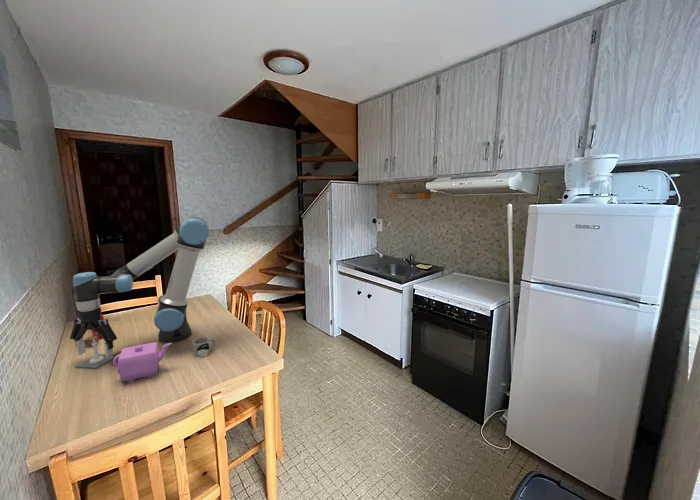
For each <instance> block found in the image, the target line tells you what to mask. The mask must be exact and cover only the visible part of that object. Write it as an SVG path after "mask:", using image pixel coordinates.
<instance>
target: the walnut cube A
mask: <svg viewBox="0 0 700 500" xmlns="http://www.w3.org/2000/svg"><path fill="white" fill-rule="evenodd" d="M83 339H84V343H85V349H87V348H93V346H92V343H94V342H93V339H95V342H97V343H98V344H99V343H100V342H99V339H98V336H92V335H91V336H87V337H86V338H83Z"/></svg>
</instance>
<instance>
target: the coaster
mask: <svg viewBox="0 0 700 500" xmlns="http://www.w3.org/2000/svg"><path fill="white" fill-rule="evenodd" d="M98 355H99V356H103V357H104V360H102V361H100V362H98V363H90V359H92V358H93V357H94V355H93V356H90V357H89V358H87V359H86V360H83V361H82V362H80V363H78V364H76V365H74V368H75V369H87V370H98V369H100V368H101V367H103V366H104V365H106V364H108V363H111V362H112V361H113V355H111V356H109V357H106V353H105V354H103V353H98Z"/></svg>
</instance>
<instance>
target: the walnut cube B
mask: <svg viewBox="0 0 700 500" xmlns="http://www.w3.org/2000/svg"><path fill="white" fill-rule="evenodd" d="M121 351H122V350H120V351H117V352H114V353H113V359H114V358H115V357H116V356H117V355H119V354H121ZM118 359H119V358H117V359H116V362H117V363H118Z"/></svg>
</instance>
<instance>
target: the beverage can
mask: <svg viewBox="0 0 700 500" xmlns="http://www.w3.org/2000/svg"><path fill="white" fill-rule="evenodd" d="M100 319H101V320H105V319H104V315H103V314H102V315H101V316H100ZM98 328H100V327H98ZM91 333H92V335H91V336H98V340H101V339H102V340H103V338H102V337H101V336H100V335H99V334H98V333H97V332H95V331H94V330H91Z"/></svg>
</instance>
